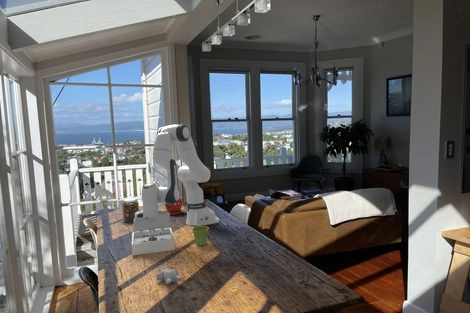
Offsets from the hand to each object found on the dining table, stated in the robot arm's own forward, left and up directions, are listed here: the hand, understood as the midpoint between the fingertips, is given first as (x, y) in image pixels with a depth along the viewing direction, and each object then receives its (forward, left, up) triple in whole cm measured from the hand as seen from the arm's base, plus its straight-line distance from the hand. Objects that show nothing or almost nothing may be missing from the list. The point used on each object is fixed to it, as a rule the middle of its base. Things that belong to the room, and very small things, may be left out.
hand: (152, 236), depth 200 cm
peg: (0, 0, -5) cm, 5 cm away
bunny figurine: (-5, +52, -5) cm, 52 cm away
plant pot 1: (-18, -65, -5) cm, 68 cm away
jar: (+13, -60, -5) cm, 62 cm away
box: (0, +3, -5) cm, 5 cm away
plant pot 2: (-26, +10, -5) cm, 28 cm away
